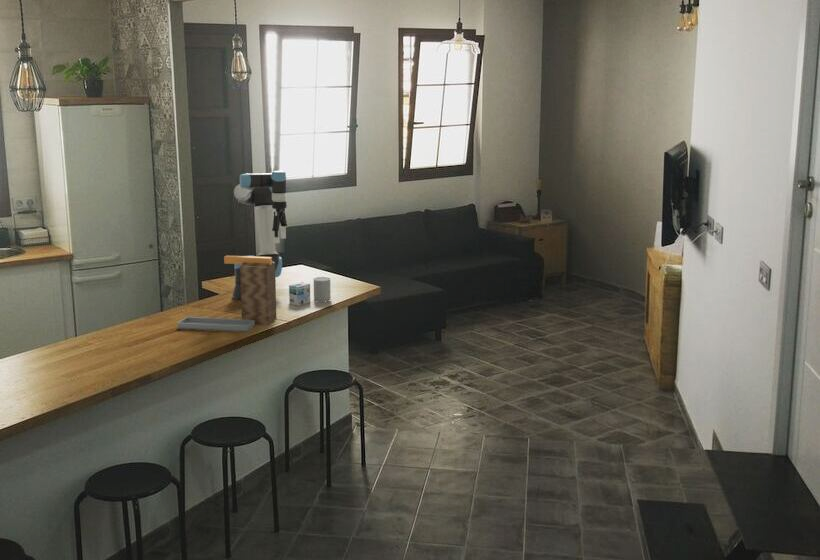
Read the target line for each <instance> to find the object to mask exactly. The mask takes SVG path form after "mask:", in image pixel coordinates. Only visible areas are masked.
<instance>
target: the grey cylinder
mask: <svg viewBox="0 0 820 560" xmlns="http://www.w3.org/2000/svg"><path fill="white" fill-rule="evenodd" d="M312 280H313V301H314V300H315V301H318V302H317V303H326V302H325V301H329V300H331V301H332V299H331V278H330V277H324V276H321V277H320V276H319V277H315V278H313V279H312ZM315 301H314V302H315ZM329 302H330V301H329Z"/></svg>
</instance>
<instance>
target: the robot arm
mask: <svg viewBox="0 0 820 560" xmlns="http://www.w3.org/2000/svg"><path fill="white" fill-rule="evenodd" d="M233 197H234V199H235V200H236V201H237V202H239V203H241V204H243V205H254V209H255V210H256V211H257V222H258V237H259V249H260V252H259V253H258V254H257V257H272V261H273V262H275V278H279V277H280V276H281V274H282V271H283V259H282V257H281V256H280V253H278V252H277V251H276V244H280V242H281V241H280V239H287V227H288V224H287V216H286V211H285V210H286V208H288V207H287V206H288V205H287V197H288V195H287V175H286V171H285V170H273V171H271V172H270V173H269V172H266V173H241V174H240V175H239V184H237V185H236V186H235V187H234V189H233ZM274 209H275V211H274V212H273V210H274ZM241 265H242V264H234V268H233V269H234V280H235V281H234V287H233V291H232V298H233V299H234V300H236V301H237V300H238V301H241V281H240V266H241Z"/></svg>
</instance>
